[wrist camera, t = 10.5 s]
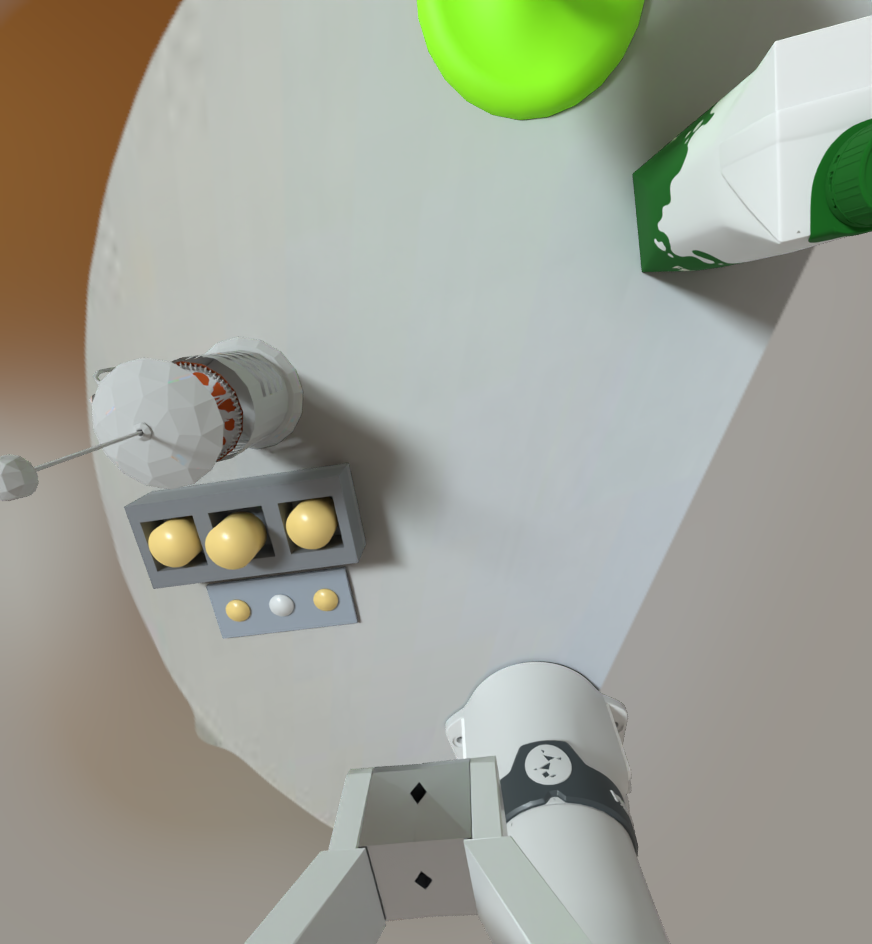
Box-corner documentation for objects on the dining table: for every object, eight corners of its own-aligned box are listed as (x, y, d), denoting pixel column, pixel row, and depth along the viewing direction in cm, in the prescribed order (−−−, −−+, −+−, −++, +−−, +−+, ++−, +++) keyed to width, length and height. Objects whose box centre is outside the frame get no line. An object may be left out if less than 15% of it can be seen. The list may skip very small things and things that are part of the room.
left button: (215, 549, 46) (199, 564, 43) (175, 554, 46) (156, 570, 43) (203, 509, 45) (186, 522, 42) (162, 515, 45) (142, 528, 42)
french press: (288, 463, 45) (98, 624, 21) (163, 421, 44) (-180, 538, 20) (316, 359, 42) (133, 408, 18) (183, 312, 41) (-189, 299, 17)
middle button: (272, 550, 44) (259, 566, 41) (228, 556, 44) (213, 572, 41) (260, 508, 42) (246, 521, 40) (216, 514, 43) (199, 528, 40)
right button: (345, 532, 45) (337, 546, 42) (302, 537, 45) (292, 552, 42) (335, 490, 44) (327, 502, 41) (292, 497, 44) (281, 509, 41)
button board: (382, 617, 49) (376, 642, 45) (201, 638, 51) (180, 664, 47) (348, 463, 45) (338, 476, 41) (151, 491, 46) (123, 506, 42)
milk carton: (630, 287, 39) (796, 254, 20) (618, 161, 37) (792, -11, 18) (744, 260, 39) (1028, 201, 20) (739, 130, 36) (1058, -85, 17)
